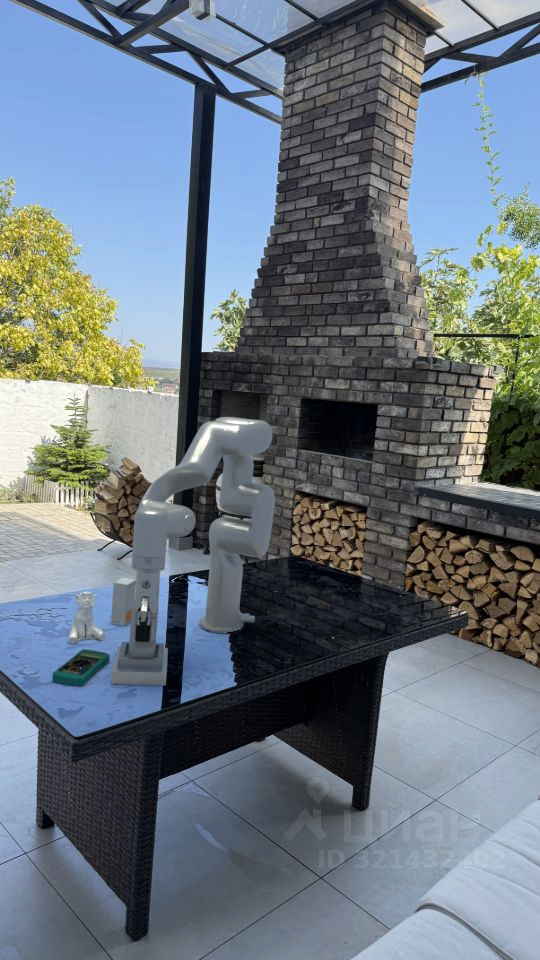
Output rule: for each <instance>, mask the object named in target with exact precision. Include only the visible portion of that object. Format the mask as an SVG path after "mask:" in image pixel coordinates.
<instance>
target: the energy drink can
mask: <svg viewBox="0 0 540 960" xmlns="http://www.w3.org/2000/svg"><path fill="white" fill-rule="evenodd" d="M142 598H143V597H142ZM148 599H149V597H148ZM140 611H141V607H140ZM147 611H149V610H147ZM158 614H159V608H158V609H157V613H156V614H155V615H154V613H151V614H150V624H151V628H150V641H149V642H136V641H135V634H136V624H137V620H138V614H137V613H136V612H135V598H134V601H133V602H132V610H131V621H130V625H129V626H130V628H129V640H128V642H129V657H142V658H153V657H154V656H155V646H156V643H157V630H158V629H157V628H158V627H157V626H158V617H159V615H158ZM140 616H141V615H140ZM147 617H148V615H147ZM147 621H148V620H147Z"/></svg>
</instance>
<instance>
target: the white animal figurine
mask: <svg viewBox="0 0 540 960" xmlns="http://www.w3.org/2000/svg"><path fill="white" fill-rule="evenodd" d="M73 595H74V598H75V599H76V600H77V601H76V604H77V606H78V609H77V610H76V612H75V613H74V617H73V618H74V619H73V621H72V622H71V627H70V631H69V633H68V636H67V637H68V639H67V641H68V643H69V644H71V645H73V644H76V643H77V642H82V641H85V640H87V641H89V640H90V641H91V640H98V641H101V642H102V641H104V640H105V638H106V633H105V632H104V631H103V630H102V628H99V627H96V625H95V624H94V613H93V610H92V608H93V607H94V606H95V605H96V602H95V599H96V596H97V593H96V594H93V592H90V591H88V590H87V591H82V592H80V593H79V594H77V593H74V594H73Z"/></svg>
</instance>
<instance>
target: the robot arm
mask: <svg viewBox="0 0 540 960" xmlns="http://www.w3.org/2000/svg"><path fill="white" fill-rule="evenodd" d="M272 441H273V430H272V427H271V425H270V424H269V423H268V422H266V421H265V420H261V419H260V420H259V419H249V418H241V417H234V416H222V417H218V418H216V419H215V420H211V421H207V422H204V423H203V424H202V425H201V426H200V428H199V429H198V430H197V432H196V434H195V436H194V437H193V439H192V441H191V443H190V445H189V447H188V449H187V451H186V453H185V454H184V455H183V458H182V460H181V461H180V463H179V464H178V465H177V466H174V467H173V468H171V469H169V470H168V471H166V472H165V473H163V474H162V475H161V476H159V477H157V478H156V479H155V480H154V481H153V482H152V483H151V484H150V485H149V487H148V488H147V490H146V492H145V493H144V495H143V497H142V498H141V500H140V503H139V505H138V507H137V509H136V511H135V514H134V523H133V524H134V525H133V536H132V537H133V540H132V551H131V552H132V553H131V554H132V555H131V565H130V567H131V569H132V570H134V571H135V573H136V574H135V580H136V585H135V598H134V599H135V612H136V613H137V614H138V620H137V624H136V634H135V641H136V642H149V641H150V628H151V624H150V614H151V613H154V615H155V614H156V613H157V609H158V610H159V599H160V598H159V595H160V586H161V585H160V583H161V572H162V571H164V570H165V569H166V558H167V557H166V556H167V555H166V553H167V541H168V539H169V538H183V537H186V536H188V535H190V534H191V532H192V531H193V530H194V529H195V525H196V515H195V513H194V511H193V510H192V509H191V508H189V507H187V506H184V505H181V504H180V505H179V504H174V503H170V502H166V501H167V500H168V499H169V498H171V497H172V496H173V495H175V494H177V493H179V492H182V491H185V490H189V489H193V488H196V487H199V486H203V485H206V484H208V483H210V481H211V480H212V477H213V476H214V474H215V471H216V469H217V467H218V465H219V463H220V461H221V460H223V468H222V475H221V477H222V478H221V484H220V490H219V500H218V501H219V507H220V508H221V510H222V511H224V512H227V513H231V514H236V515H240V516H246V517H250V518H251V521H249V520H244V519H238V518H236V517H235V518H233V517H227V516H226V517H225V516H224V517H223V516H222V517H218V518H216V519H214V520H213V521H212V522H211V524H210V525H209V530H208V542H209V553H210V554H209V555H210V556H209V557H210V558H209V572H208V583H207V594H206V595H207V596H206V604H205V605H206V606H205V615H204V616H203V617H200V619H199V626H200V627H201V629H203V630H206V631H207V632H212V633H216V634H225V633H224V632H233V631H237V630H240V629H241V628H242V627H243V628H244V623H255V621H256V620H255V619H256V617H255V615H250V613H242V611H241V610H240V603H241V594H242V593H241V592H242V584H243V583H242V582H243V573H244V567H243V562H242V559H241V557H240V555H243V556H246V557H253V558H261V557H263V556H264V555H266V553H267V551H268V549H269V546H270V542H271V535H272V528H273V521H274V515H275V506H276V505H275V504H276V496H275V492H274V490H273V488H272V487H271V486H269V485H267V484H265V483H264V484H263V483H260V482H259V483H257V482H254V481H253V478H254V477H253V475H254V467H255V465H254V460H253V457H252V456H255V455H257V454H262V453H263V452H265V451H266V450H268V449H269V447H270V446H271V444H272ZM222 458H223V459H222ZM142 597H143V598H142ZM148 597H149V599H148ZM140 607H141V611H140ZM147 610H149V611H147ZM140 615H141V616H140ZM147 615H148V617H147ZM147 620H148V621H147ZM243 628H242V629H243ZM242 629H241V630H242ZM241 630H240V631H241Z"/></svg>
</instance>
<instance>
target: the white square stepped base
mask: <svg viewBox="0 0 540 960" xmlns="http://www.w3.org/2000/svg"><path fill="white" fill-rule="evenodd" d="M168 650H169V649H168V647H165V643H163V642H156V646H155V656H154V657H153V658H142V657H129V641H121V643H120V645H119V646H117V649H116V652H115V656H114V660H113V666H112V669H111V677H110V678H111V679H110V684H111V685H132V686H133V685H137V686H166V685H167V674H168V673H167V672H168V653H169V651H168Z"/></svg>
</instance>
